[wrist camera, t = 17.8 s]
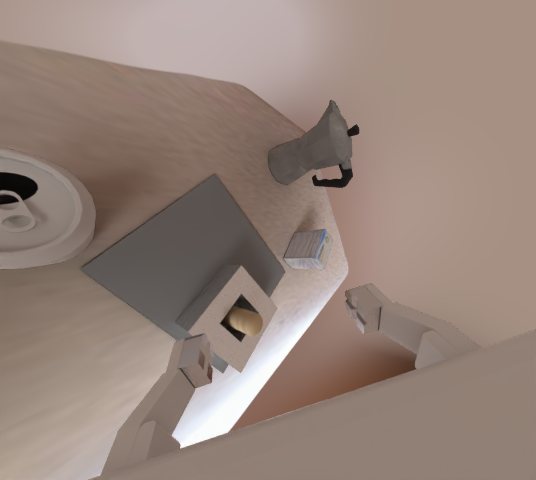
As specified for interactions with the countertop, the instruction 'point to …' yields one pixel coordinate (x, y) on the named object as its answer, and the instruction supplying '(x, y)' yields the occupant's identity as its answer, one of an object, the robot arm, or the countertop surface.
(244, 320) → the pin
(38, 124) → the countertop surface
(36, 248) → the can
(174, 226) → the mat
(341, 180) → the coffeepot
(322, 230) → the medicine box
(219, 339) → the block with square hole
